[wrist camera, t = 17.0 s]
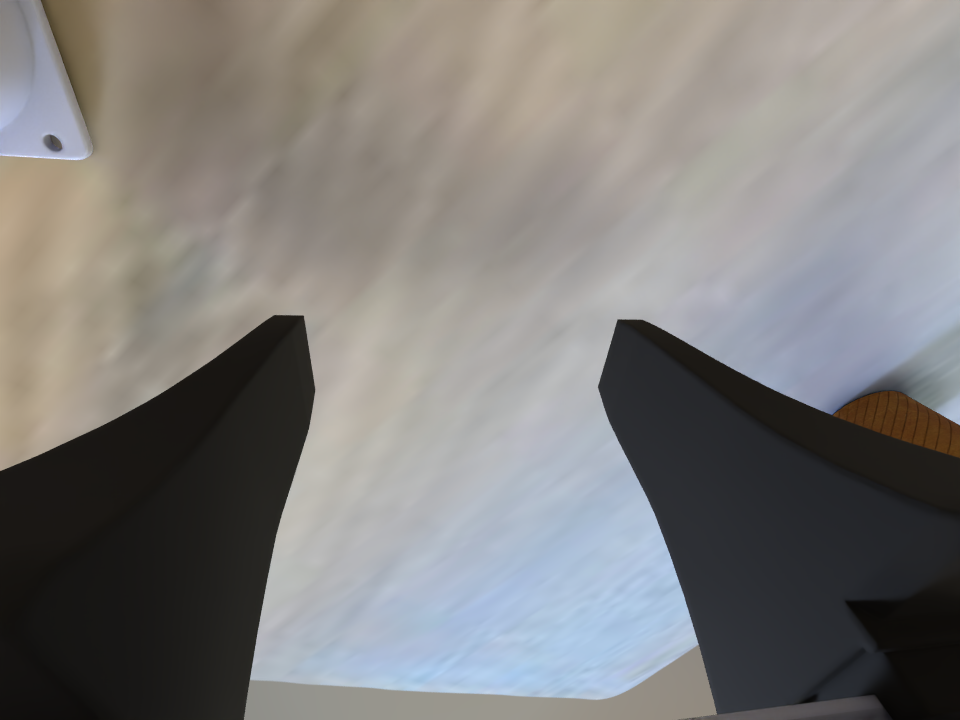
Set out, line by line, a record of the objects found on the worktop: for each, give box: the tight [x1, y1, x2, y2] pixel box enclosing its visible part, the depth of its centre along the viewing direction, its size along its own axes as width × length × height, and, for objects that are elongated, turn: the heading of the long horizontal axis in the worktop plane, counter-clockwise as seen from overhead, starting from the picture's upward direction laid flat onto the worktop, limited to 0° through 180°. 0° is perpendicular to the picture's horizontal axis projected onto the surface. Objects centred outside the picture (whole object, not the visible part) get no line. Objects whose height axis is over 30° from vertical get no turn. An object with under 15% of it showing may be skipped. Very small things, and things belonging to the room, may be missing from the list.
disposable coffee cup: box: [833, 391, 960, 458], centre depth 25 cm, size 10×10×12 cm
